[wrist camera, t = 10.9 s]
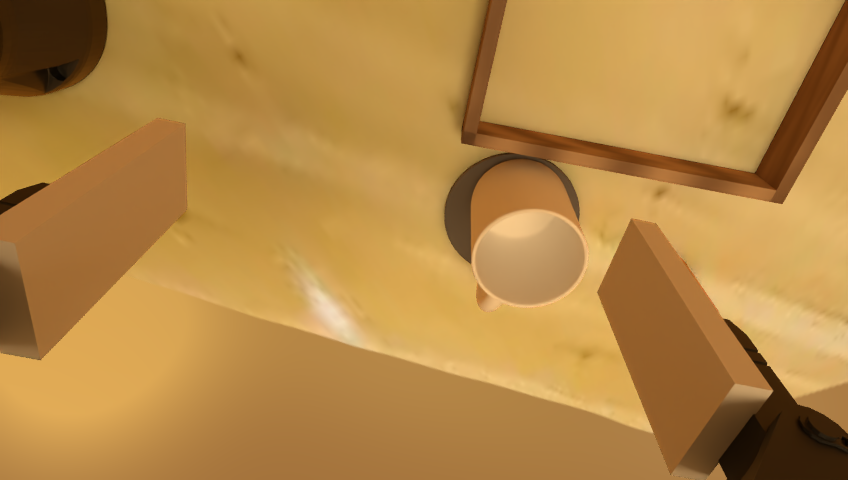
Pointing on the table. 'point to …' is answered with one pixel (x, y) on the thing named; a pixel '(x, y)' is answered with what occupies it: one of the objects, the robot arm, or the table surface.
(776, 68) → the table surface
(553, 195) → the mug
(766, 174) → the frame
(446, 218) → the dark brown round mat
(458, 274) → the table surface
